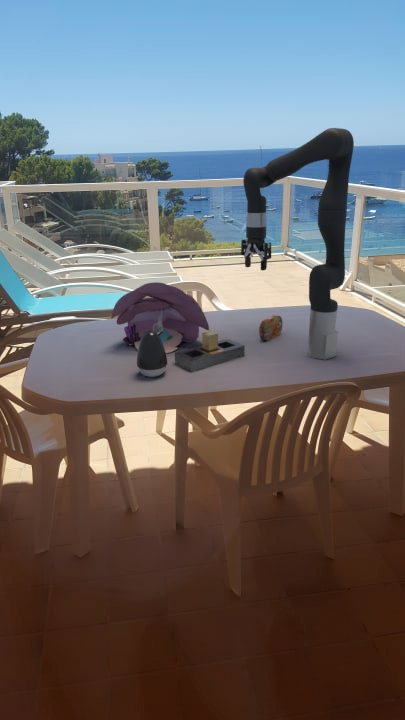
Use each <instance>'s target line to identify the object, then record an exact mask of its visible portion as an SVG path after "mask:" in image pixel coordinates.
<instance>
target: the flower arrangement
mask: <svg viewBox="0 0 405 720" xmlns="http://www.w3.org/2000/svg"><path fill="white" fill-rule="evenodd" d="M117 316H118V317H117ZM115 317H117V319H116V325H124V324H127V326H124V329H123V330H124V333H125V337H123V338H122V341H123V342H124V343H125V344H126V345H129V346H132V345H134V347H135V349H136V350H137V351H138V348H139V344H140V341H141V338H142V336H143V335H144V333H146V332H148V331H154V332H156V333H157V332H159V331H160V330H162V331H163V332H162V334H161V335H160V336H159V337H160V339H161V341H162V343H163V345H164V348H165V352H166V354H168V353H169V354H170V353H172V352H173V351H174V352H175V351H176V350H177V349H179V347H177V346H179V345H180V344H181V343H182V342H183V343H194V342H196V341H197V340H198V338H199V336H200V335H199V333H200V328H202V329H204V330H206V331H210V326H209V322H208V321H207V317H206V315H205V313H204V311H203V309H202V308H201V306H200V305H199V303H198V302H197V300H196V299H195V298H194V297H193V296H192V295H191V294H188V293H186V292H185V291H183V290H182V289H180V288H178V287H176V286H173V285H169V284H167V283H164V282H159V281H158V282H147V283H144V284H143V285H142V284H141V285H140V286H138V287H137V288H136V289H133V290H131V291H130V292H128V293H125V294H124V295H122V296H121V297H119V299H118V300H117V301H116V302H115V305H114V307H113V310H112V312H111V318H110V319H111V320H113V319H114V318H115Z"/></svg>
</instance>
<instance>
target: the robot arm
mask: <svg viewBox="0 0 405 720" xmlns="http://www.w3.org/2000/svg"><path fill="white" fill-rule="evenodd" d="M354 143H355V142H354V136H353V135H352V133H351V131H349V130H348V129H345V128H339V127H330V128H327V129H324V131H322V132H321V133H318V135H315V136H314V137H313V138H312V139H310V140H309V141H307V142H306V143H304V144H302V145H301V146H299V147H297V148H296V149H294V150H292V151H289V152H287V153H285V154H282V155H280V156H278V157H275V158H274V159H272V160H270V161H269V162H268V163H267V164H266V165H265V166H262V167H251V168H248V169H247V170H246V171H245V172H244V175H243V178H242V179H243V188H244V193H245V197H246V202H247V203H246V220H245V221H246V222H245V223H246V225H245V228H246V229H245V232H246V233H245V239H241V243H240V245H241V246H240V256H243V257H244V265H245V266H244V267H245V268H250V267H251V265H252V264H251V263H252V262H251V261H252V257H251V256H252V254H253V253H255V254H257V256H259V258H260V271H266V269H267V268H268V260H271V259H272V242H266V241H265V239H267V223H268V221H267V219H268V218H267V198H266V196H264V195H262V193H261V189H264V188H268V187H269V186H271V185H273V184H274V183H276V182H277V181H280V180H282V179H285V178H287V177H289V176H292V175H293V174H296V173H297V172H298V171H300V170H301V169H302V168H304V167H305V166H307V165H309V164H313V163H316V162H320V161H324V160H325V161H326V160H328V173H327V179H326V183H325V184H324V187H323V190H322V193H321V196H320V197H319V200H318V208H317V226H318V230H319V233H320V234H321V237H322V239H323V242H324V246H325V263H322V264H317V265H315V266H313V268H312V269H311V271H310V273H309V279H308V300H309V303H310V310H309V327H308V343H307V344H308V345H307V355H308V356H309V357H310V358H313V359H318V360H319V359H320V360H324V361H325V360H328V359H331V358H334V357H336V356H337V348H338V347H337V346H338V333H339V332H338V331H337V329H336V328H337V318H338V308H339V307H338V304H339V303H338V301H337V300H335V299H332V298H331V291H332V290H336V289H339V288H340V287H341V286H342V285H343V283H344V282H345V279H346V278H345V277H346V263H345V262H346V261H345V259H346V257H345V246H346V245H345V243H346V224H347V213H348V194H349V183H350V181H349V179H350V173H351V172H350V171H351V165H352V159H353V153H354Z"/></svg>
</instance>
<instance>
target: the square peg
mask: <svg viewBox="0 0 405 720" xmlns="http://www.w3.org/2000/svg"><path fill="white" fill-rule="evenodd" d="M218 341H219V334H218V333H217V332H216V331H212V330H207V331H204V332H201V343H202V345H201V346H202V350H203V351H205V352H207V353H210V352H213V351H217V350H218Z"/></svg>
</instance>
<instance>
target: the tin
mask: <svg viewBox="0 0 405 720" xmlns="http://www.w3.org/2000/svg"><path fill="white" fill-rule="evenodd" d="M282 330H283V318H282V317H281V316H280V315H275V314H274V315H270V317H267V318H265V319H263V320H261V322H260V325H259V327H258V332H259V334H258V335H259V338H260V339H261V340H262V341H267V342H269V341H271V340H273V339H274V338H276V337H278V336H279V335H280V334H281V333H282Z"/></svg>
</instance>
